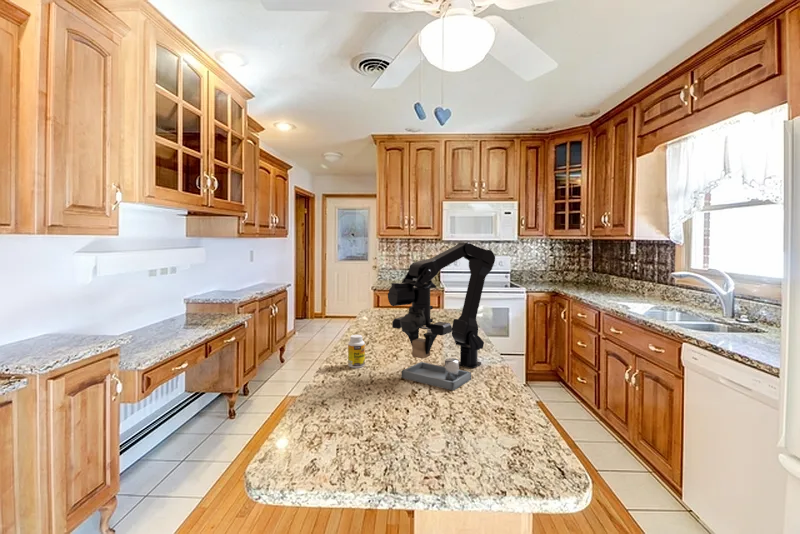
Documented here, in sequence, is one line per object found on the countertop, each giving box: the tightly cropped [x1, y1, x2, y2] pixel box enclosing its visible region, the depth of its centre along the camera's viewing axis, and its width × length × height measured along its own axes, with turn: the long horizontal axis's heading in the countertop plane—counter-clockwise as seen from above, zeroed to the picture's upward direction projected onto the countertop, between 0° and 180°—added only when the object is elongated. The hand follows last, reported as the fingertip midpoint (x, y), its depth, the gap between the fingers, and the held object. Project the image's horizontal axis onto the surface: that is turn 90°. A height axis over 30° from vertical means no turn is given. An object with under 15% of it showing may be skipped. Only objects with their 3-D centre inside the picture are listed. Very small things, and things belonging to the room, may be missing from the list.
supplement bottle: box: [347, 334, 366, 369], centre depth 133 cm, size 6×6×10 cm
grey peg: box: [444, 357, 460, 382], centre depth 118 cm, size 4×4×6 cm
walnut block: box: [411, 337, 431, 360], centre depth 124 cm, size 4×4×5 cm
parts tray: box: [401, 361, 472, 391], centre depth 121 cm, size 11×18×2 cm, turn 54°
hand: (421, 352), depth 124 cm, fingers closed on walnut block, 4 cm apart
